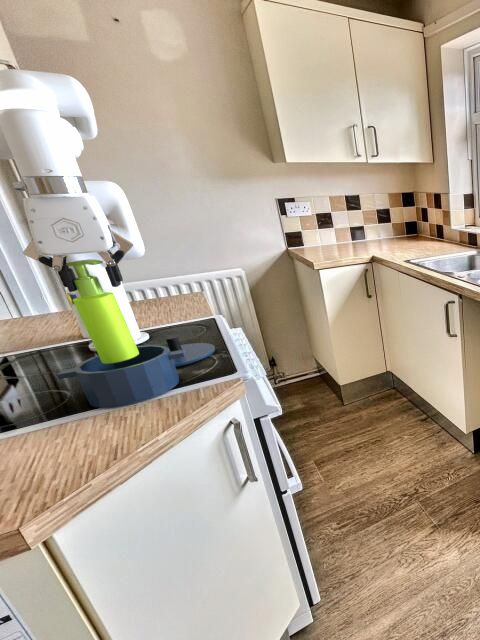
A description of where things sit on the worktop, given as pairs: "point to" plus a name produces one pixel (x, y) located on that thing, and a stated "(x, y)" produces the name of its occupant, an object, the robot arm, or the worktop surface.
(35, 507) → the worktop surface
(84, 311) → the soap dispenser
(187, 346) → the pan lid
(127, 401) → the pan
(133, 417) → the worktop surface
